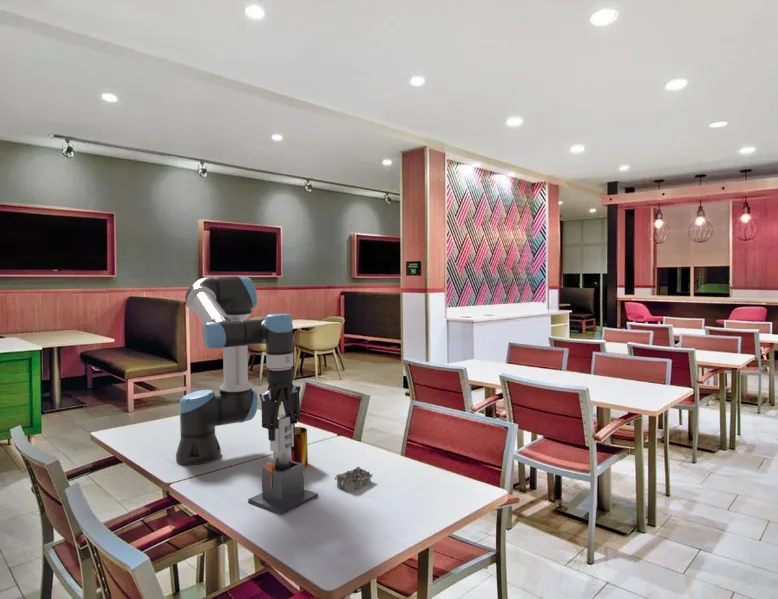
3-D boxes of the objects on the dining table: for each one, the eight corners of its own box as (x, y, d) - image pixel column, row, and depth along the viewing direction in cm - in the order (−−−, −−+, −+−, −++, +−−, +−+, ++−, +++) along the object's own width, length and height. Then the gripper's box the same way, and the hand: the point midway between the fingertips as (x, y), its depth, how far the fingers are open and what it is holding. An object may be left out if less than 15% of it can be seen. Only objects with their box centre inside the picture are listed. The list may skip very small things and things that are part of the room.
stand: (248, 502, 150) (247, 461, 149) (285, 486, 161) (284, 447, 161) (281, 515, 142) (280, 471, 141) (318, 496, 153) (317, 456, 152)
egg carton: (348, 494, 155) (347, 480, 155) (332, 486, 161) (332, 473, 161) (374, 483, 163) (374, 470, 163) (359, 476, 168) (358, 464, 168)
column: (269, 486, 151) (267, 417, 150) (283, 480, 155) (282, 413, 154) (283, 491, 147) (281, 420, 146) (297, 484, 152) (296, 416, 151)
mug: (292, 477, 169) (291, 440, 168) (274, 464, 180) (273, 430, 179) (318, 470, 174) (317, 434, 174) (300, 458, 185) (299, 425, 185)
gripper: (264, 374, 140) (266, 460, 141) (311, 364, 155) (313, 442, 156) (246, 371, 145) (248, 454, 146) (294, 362, 159) (296, 437, 160)
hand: (282, 448), depth 151 cm, fingers closed on column, 5 cm apart
